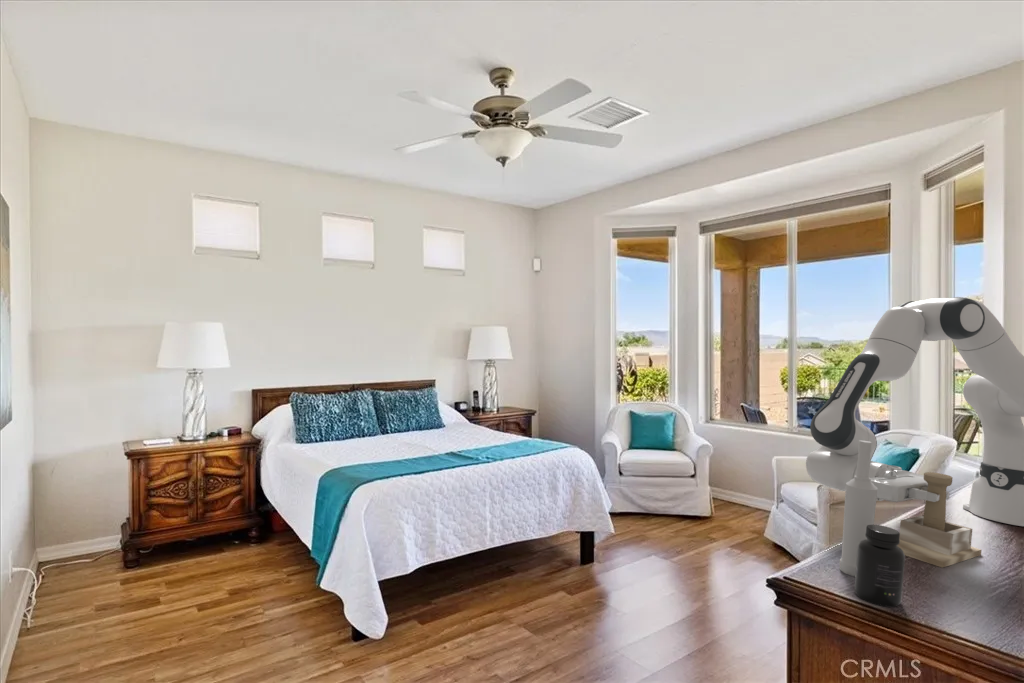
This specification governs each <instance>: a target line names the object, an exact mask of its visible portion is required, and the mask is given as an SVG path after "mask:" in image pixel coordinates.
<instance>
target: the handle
mask: <svg viewBox="0 0 1024 683" xmlns="http://www.w3.org/2000/svg"><path fill="white" fill-rule="evenodd" d="M923 475H924V480H925V481H926V482H927V483H928V490H927V492H934V493H938V494H939V495H940V497H939V501H937V502H932V501H928V500H925V504H924V511H923V515H924V516H923V525H924V526H927V527H931V528H934V529H938V530H941V531H944V528H945V521H946V519H947V518H946V514H947V513H946V512H947V510H946V508H947V504H946V503H947V500H946V491H947V488H948V487H949V486H952V485H953V477H952V476H951V475H948V474H944V473H939V472H934V471H933V472H931V471H929V472H928V471H926V472H924V473H923Z"/></svg>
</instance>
